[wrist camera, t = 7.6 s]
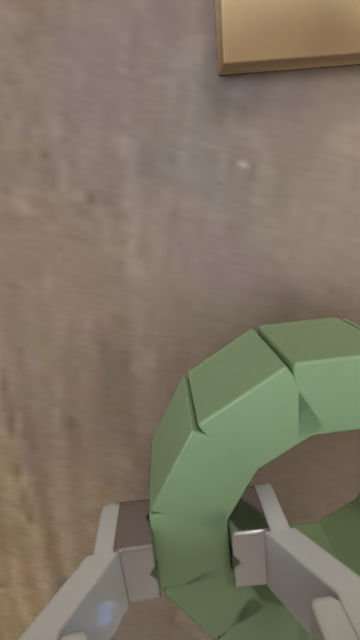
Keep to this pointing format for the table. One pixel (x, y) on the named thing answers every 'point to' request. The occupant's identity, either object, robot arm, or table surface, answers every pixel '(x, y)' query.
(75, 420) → the table surface
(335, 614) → the robot arm
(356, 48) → the stand
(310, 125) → the table surface
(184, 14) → the table surface
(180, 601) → the ring
